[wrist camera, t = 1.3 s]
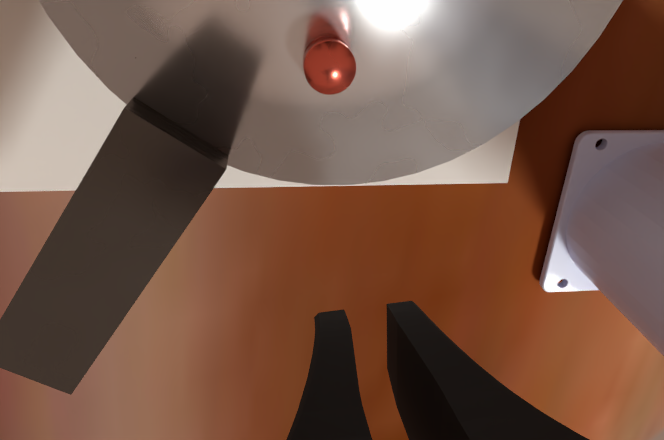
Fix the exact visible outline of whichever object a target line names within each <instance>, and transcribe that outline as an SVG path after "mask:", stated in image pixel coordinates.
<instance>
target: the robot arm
mask: <svg viewBox="0 0 664 440" xmlns="http://www.w3.org/2000/svg"><path fill="white" fill-rule="evenodd" d="M599 139H602V142H601V144H600V145H599V146H598V147H595V144H596V142H597V141H598V140H599ZM562 279H563V281H562V282H561V283H558V282H559V281H560V280H562ZM539 284H540V286H541V287H542V288H543V290H545V291H546V292H564V291H588V290H600V291H601V292H602V293H603V294H604V295H605V296H606V297H607V298H608V299H609V300H610V301H611V302H612V303H613V304H614V305H615V306H616V308H617V309H618V310H619V311H620V312H621V313H622V314H623V315H624V316H625V317H626V318H627V319H628V320H629V321H630V322H631V323H632V324H633V325H634V326H635V327H636V328H637V329H638V330H639V331H640V332H641V333H642V334H643V335H644V336H645V337H646V338H647V339H648V340H649V341H650V342H651V343H652V344H653V345H654V346H655V347H656V349H657V350H658V351H659V352H660V353H661V354H662V355H663V356H664V130H588V131H584V132H582V133H581V134H579V135H578V137H577V138H576V140H575V142H574V146H573V150H572V154H571V158H570V162H569V166H568V170H567V174H566V178H565V182H564V186H563V190H562V194H561V198H560V202H559V206H558V210H557V214H556V217H555V221H554V225H553V229H552V233H551V237H550V241H549V245H548V249H547V253H546V257H545V261H544V265H543V269H542V273H541V277H540V283H539ZM314 319H315V341H314V348H313V355H312V359H311V364H310V369H309V373H308V378H307V381H306V385H305V388H304V391H303V395H302V398H301V402H300V405H299V408H298V411H297V414H296V417H295V419H294V422H293V425H292V427H291V430H290V432H289V435H288V437H287V440H372V438H371V434H370V431H369V427H368V424H367V420H366V417H365V414H364V410H363V407H362V402H361V397H360V392H359V386H358V378H357V371H356V363H355V356H354V348H353V341H352V334H351V327H350V325H349V322H348V319H347V316H346V313H345V311H344V310H337V311H330V312H322V313H318V314H317V315H316V316H315V317H314ZM387 369H388V373H389V377H390V381H391V385H392V390H393V393H394V397H395V401H396V405H397V408H398V411H399V414H400V416H401V419H402V422H403V424H404V427H405V430H406V432H407V435H408V438H409V440H589V439H587V438H585V437H583V436H581V435H580V434H578V433H576V432H574V431H573V430H571V429H569V428H568V427H566V426H564V425H563V424H561V423H559V422H557V421H556V420H554V419H552V418H551V417H549V416H547V415H546V414H544V413H543V412H541V411H540V410H538V409H536V408H535V407H533V406H532V405H531V404H529V403H528V402H526V401H525V400H523V399H522V398H520V397H519V396H518V395H516V394H515V393H513V392H512V391H511V390H509V389H508V388H507V387H505V386H504V385H503V384H501V383H500V382H499V381H498V380H496V379H495V378H494V377H493V376H491V375H490V374H489V373H488V372H486V371H485V370H484V369H483V368H482V367H480V366H479V365H478V364H477V363H476V362H475V361H473V360H472V359H471V358H470V357H469V356H468V355H467V354H466V353H465V352H463V351H462V350H461V349H460V348H459V347H458V346H457V345H456V344H455V343H454V342H453V341H452V340H450V339H449V338H448V337H447V336H446V335H445V334H444V333H443V332H442V331H441V330H440V329H439V328H438V327H437V326H436V325H435V324H434V323H433V322H432V321H431V320H430V319H429V318H428V317H427V316H426V314H425V313H424V312H423V311H422V310H421V309H420V308H419V307H418V306H417V305H416V304H415V303H414V302H412V301H407V302H399V303H391V304H387Z"/></svg>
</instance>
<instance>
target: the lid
mask: <svg viewBox="0 0 664 440" xmlns="http://www.w3.org/2000/svg"><path fill="white" fill-rule="evenodd" d="M39 1H40V3H41V5H42V7H43V8H44V10H45V12H46V13H47V15H48V16H49V18H50V19H51V21H52V22H53V23H54V25H55V26H56V27H57V29H58V30H59V31H60V33H61V34H62V35H63V37H64V38H65V39H66V41H67V42H68V44H69V45H70V46H71V48H72V49H73V50H74V52H75V53H76V54H77V56H78V57H79V58H80V59H81V60H82V61H83V62H84V63H85V64H86V65H87V66H88V67H89V69H90V70H91V71H92V72H93V73H94V74H95V75H96V76H97V77H98V78H99V79H100V80H101V81H102V83H103V84H104V85H105V86H106V87H107V88H108V89H109V90H110V91H111V92H113V93H114V94H115V95H116V96H117V97H118V98H120V99H121V100H122V101H123V102H124V103H125V104H126V106H125V107H124V109H123V111H122V112H121V114H120V116H119V117H118V119H117V121H116V123H115V124H114V126H113V128H112V129H111V131H110V133H109V134H108V136H107V138H106V140H105V141H104V143H103V145H102V146H101V148H100V150H99V152H98V153H97V155H96V157H95V158H94V160H93V162H92V164H91V165H90V167H89V169H88V170H87V172H86V174H85V176H84V177H83V179H82V181H81V182H80V184H79V186H78V188H77V189H76V191H75V193H74V194H73V196H72V198H71V200H70V201H69V203H68V205H67V206H66V208H65V210H64V212H63V213H62V215H61V217H60V218H59V220H58V222H57V224H56V225H55V227H54V229H53V230H52V232H51V234H50V236H49V237H48V239H47V241H46V242H45V244H44V246H43V248H42V249H41V251H40V253H39V254H38V256H37V258H36V260H35V261H34V263H33V265H32V266H31V268H30V270H29V272H28V273H27V275H26V277H25V278H24V280H23V282H22V283H21V285H20V287H19V289H18V290H17V292H16V294H15V295H14V297H13V299H12V301H11V302H10V304H9V306H8V307H7V309H6V311H5V313H4V314H3V316H2V318H1V319H0V368H2V369H5V370H8V371H10V372H13V373H15V374H18V375H21V376H23V377H26V378H29V379H31V380H34V381H36V382H39V383H42V384H44V385H47V386H50V387H52V388H55V389H57V390H60V391H63V392H65V393H68V394H72V393H73V391H74V390H75V388H76V387H77V385H78V384H79V382H80V381H81V380H82V378H83V377H84V375H85V374H86V372H87V371H88V369H89V368H90V366H91V365H92V364H93V362H94V361H95V359H96V358H97V356H98V355H99V353H100V352H101V351H102V349H103V348H104V346H105V345H106V343H107V342H108V340H109V339H110V337H111V336H112V335H113V333H114V332H115V330H116V329H117V327H118V326H119V324H120V323H121V322H122V320H123V319H124V317H125V316H126V314H127V313H128V311H129V310H130V308H131V307H132V306H133V304H134V303H135V301H136V300H137V298H138V297H139V295H140V294H141V292H142V291H143V290H144V288H145V287H146V285H147V284H148V282H149V281H150V279H151V278H152V277H153V275H154V274H155V272H156V271H157V269H158V268H159V266H160V265H161V263H162V262H163V261H164V259H165V258H166V256H167V255H168V253H169V252H170V250H171V249H172V248H173V246H174V245H175V243H176V242H177V240H178V239H179V237H180V236H181V234H182V233H183V232H184V230H185V229H186V227H187V226H188V224H189V223H190V221H191V220H192V219H193V217H194V216H195V214H196V213H197V211H198V210H199V208H200V207H201V205H202V204H203V203H204V201H205V200H206V198H207V197H208V195H209V194H210V192H211V191H212V190H213V188H214V187H215V185H216V184H217V182H218V181H219V179H220V178H221V176H222V175H223V174H224V172H225V171H226V169H227V165H228V166H231V167H233V168H236V169H239V170H241V171H244V172H247V173H251V174H255V175H259V176H263V177H267V178H271V179H275V180H279V181H287V182H295V183H303V184H311V185H355V184H363V183H371V182H380V181H386V180H390V179H394V178H399V177H403V176H407V175H411V174H415V173H419V172H422V171H424V170H427V169H430V168H432V167H435V166H438V165H440V164H443V163H446V162H449V161H451V160H453V159H455V158H457V157H459V156H461V155H463V154H465V153H467V152H469V151H471V150H473V149H475V148H477V147H479V146H481V145H483V144H485V143H486V142H488V141H489V140H491V139H492V138H494V137H495V136H497V135H498V134H500V133H501V132H503V131H504V130H506V129H507V128H509V127H510V126H512V125H513V124H515V123H516V122H517V121H519V120H520V119H521V118H522V117H523V116H525V115H526V114H527V113H528V112H530V111H531V110H532V109H533V108H534V107H536V106H537V105H538V104H539V103H540V102H542V101H543V100H544V99H545V98H546V97H547V96H548V95H549V94H550V93H551V92H552V91H553V90H554V89H555V88H556V87H557V86H558V85H559V84H560V83H561V82H562V81H563V80H564V79H565V78H566V77H567V76H568V75H569V74H570V73H571V72H572V71H573V69H574V68H575V67H576V66H577V64H578V63H579V62H580V61H581V59H582V58H583V57H584V56H585V54H586V53H587V52H588V51H589V49H590V48H591V47H592V46H593V44H594V43H595V42H596V41H597V39H598V38H599V37H600V35H601V34H602V32H603V31H604V29H605V28H606V26H607V24H608V23H609V21H610V20H611V18H612V17H613V15H614V14H615V12H616V11H617V9H618V7H619V6H620V4H621V3H622V1H623V0H39Z"/></svg>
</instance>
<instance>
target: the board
mask: <svg viewBox="0 0 664 440" xmlns="http://www.w3.org/2000/svg"><path fill="white" fill-rule="evenodd" d="M125 106H126V104H125V103H124V102H123V101H122V100H121V99H120V98H118V97H117V96H116V95H115V94H114V93H113V92H111V91H110V90H109V89H108V88H107V87H106V86H105V85H104V84H103V83H102V81H101V80H100V79H99V78H98V77H97V76H96V75H95V74H94V73H93V72H92V71H91V70H90V69H89V67H88V66H87V65H86V64H85V63H84V62H83V61H82V60H81V59H80V58H79V57H78V56H77V54H76V53H75V52H74V50H73V49H72V48H71V46H70V45H69V44H68V42H67V41H66V39H65V38H64V37H63V35H62V34H61V33H60V31H59V30H58V29H57V27H56V26H55V25H54V23H53V22H52V21H51V19H50V18H49V16H48V15H47V13H46V12H45V10H44V8H43V7H42V5H41V3H40V1H39V0H0V192H15V191H72V190H76V189H77V188H78V186H79V184H80V182H81V181H82V179H83V177H84V176H85V174H86V172H87V170H88V169H89V167H90V165H91V164H92V162H93V160H94V158H95V157H96V155H97V153H98V152H99V150H100V148H101V146H102V145H103V143H104V141H105V140H106V138H107V136H108V134H109V133H110V131H111V129H112V128H113V126H114V124H115V123H116V121H117V119H118V117H119V116H120V114H121V112H122V111H123V109H124V107H125ZM519 123H520V120H519V121H517V122H516V123H515V124H513V125H512V126H510V127H509V128H507V129H506V130H504V131H503V132H501V133H500V134H498V135H497V136H495V137H494V138H492V139H491V140H489V141H488V142H486V143H485V144H483V145H481V146H479V147H477V148H475V149H473V150H471V151H469V152H467V153H465V154H463V155H461V156H459V157H457V158H455V159H453V160H451V161H449V162H446V163H443V164H440V165H438V166H435V167H432V168H430V169H427V170H424V171H422V172H419V173H415V174H411V175H407V176H403V177H399V178H394V179H390V180H386V181H380V182H371V183H363V184H355V185H311V184H303V183H295V182H287V181H279V180H275V179H271V178H267V177H263V176H259V175H255V174H251V173H247V172H244V171H241V170H239V169H236V168H233V167H231V166H228V165H227V169H226V171H225V172H224V174H223V175H222V176H221V178H220V179H219V181H218V182H217V184H216V185H215V187H214V188H243V187H300V186H357V185H414V184H470V183H508V178H509V173H510V168H511V163H512V158H513V153H514V148H515V143H516V138H517V133H518V128H519Z"/></svg>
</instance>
